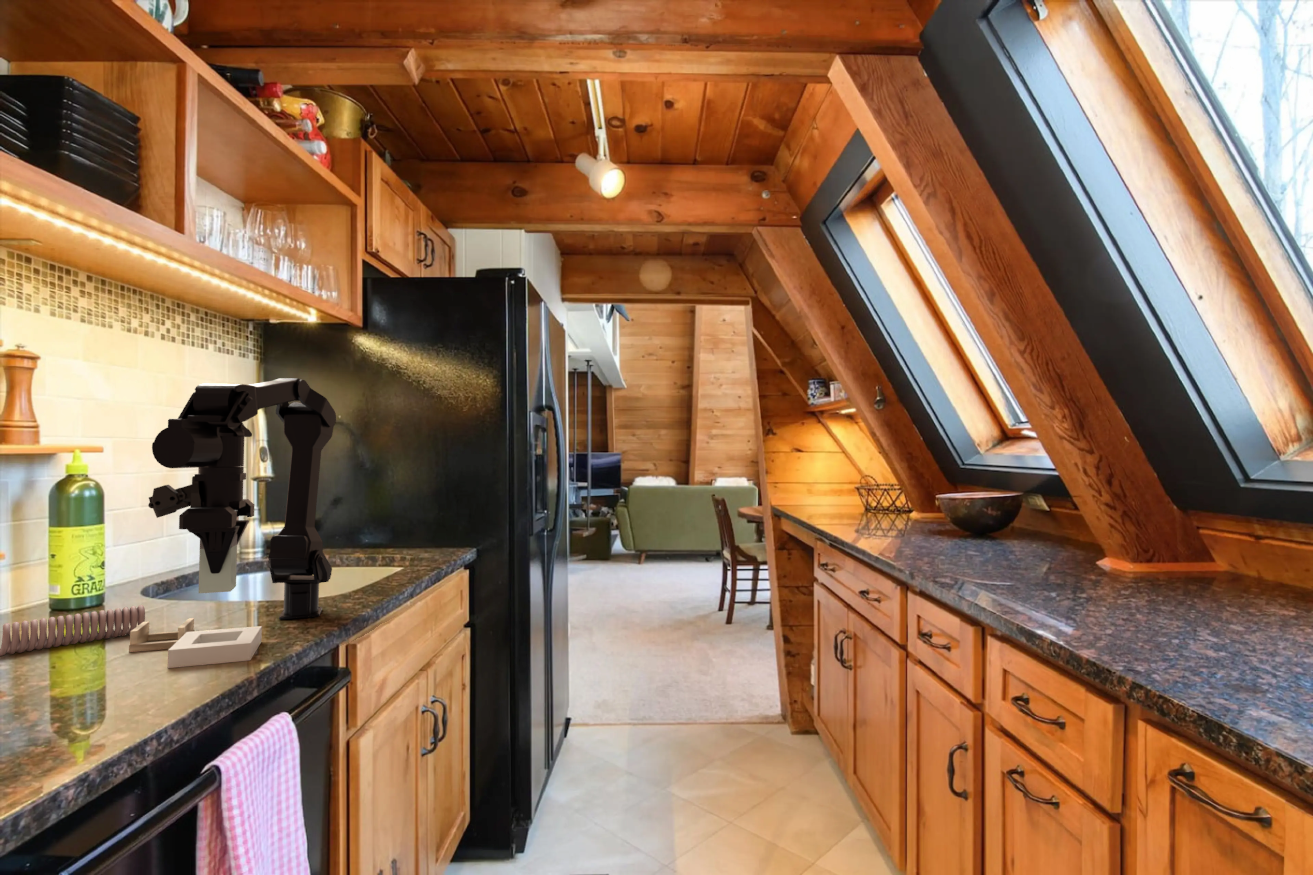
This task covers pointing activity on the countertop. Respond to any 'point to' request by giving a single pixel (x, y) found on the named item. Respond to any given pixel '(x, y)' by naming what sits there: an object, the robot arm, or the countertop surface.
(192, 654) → the plate
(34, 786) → the countertop surface
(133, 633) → the light brown square holder
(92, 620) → the coil
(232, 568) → the plug
